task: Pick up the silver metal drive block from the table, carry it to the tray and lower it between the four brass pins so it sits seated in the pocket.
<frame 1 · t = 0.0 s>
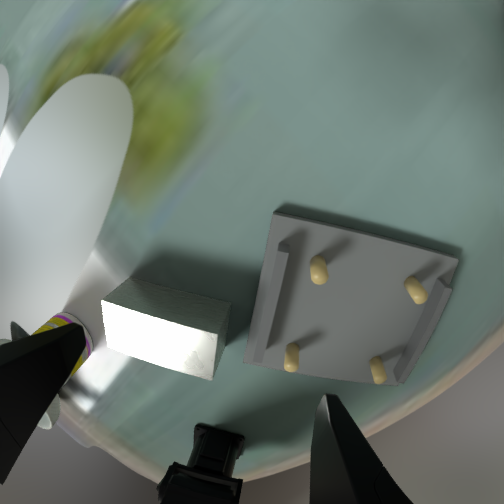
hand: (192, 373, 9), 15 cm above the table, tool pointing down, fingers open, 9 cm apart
tray: (349, 311, 23), on the table
supplement bottle: (75, 332, 30), on the table
cereal bowl: (36, 367, 36), on the table
drive: (177, 311, 26), on the table
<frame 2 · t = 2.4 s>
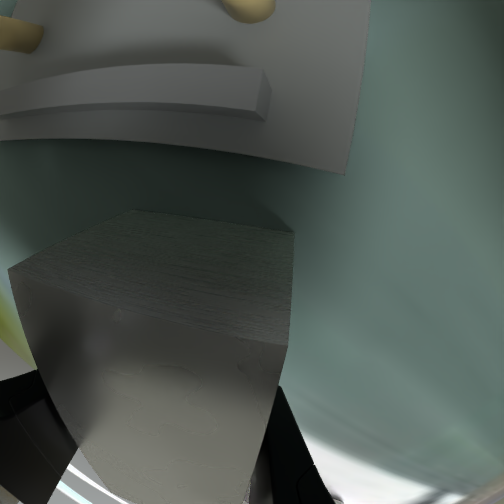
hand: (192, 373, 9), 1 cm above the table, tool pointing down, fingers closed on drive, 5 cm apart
drive: (200, 354, 10), on the table, touching gripper
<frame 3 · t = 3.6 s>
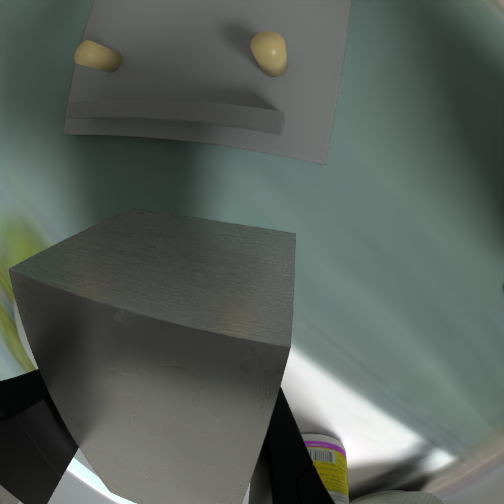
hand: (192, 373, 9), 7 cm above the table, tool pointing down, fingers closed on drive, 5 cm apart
supplement bottle: (306, 448, 20), on the table
cereal bowl: (375, 499, 23), on the table
drive: (200, 354, 10), point 6 cm above the table, touching gripper
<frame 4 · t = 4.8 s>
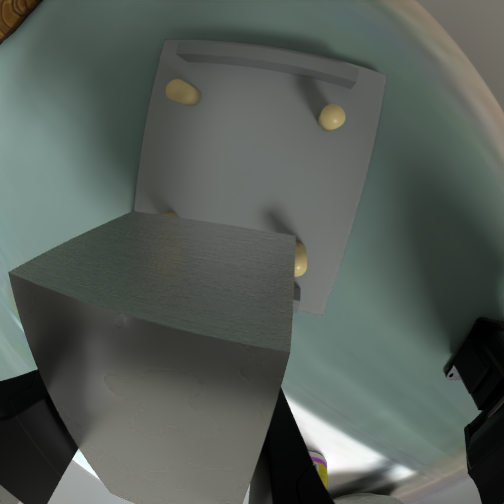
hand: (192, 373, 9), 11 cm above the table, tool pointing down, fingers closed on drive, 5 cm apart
croissant: (19, 19, 15), on the table
tray: (247, 170, 18), on the table
supplement bottle: (299, 459, 27), on the table
cereal bowl: (353, 499, 31), on the table
drive: (200, 356, 10), point 10 cm above the table, touching gripper
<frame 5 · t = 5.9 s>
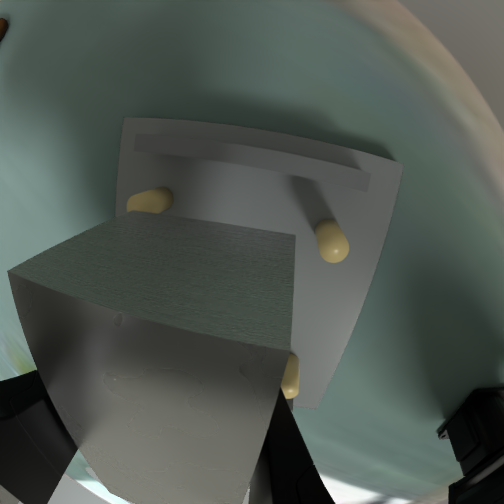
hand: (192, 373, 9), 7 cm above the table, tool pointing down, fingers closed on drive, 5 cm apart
tray: (233, 279, 16), on the table
drive: (200, 356, 10), point 6 cm above the table, touching gripper
when the fingers open (4 cm above the table, at t = 6.9 s): drive drops 2 cm, resting on tray.
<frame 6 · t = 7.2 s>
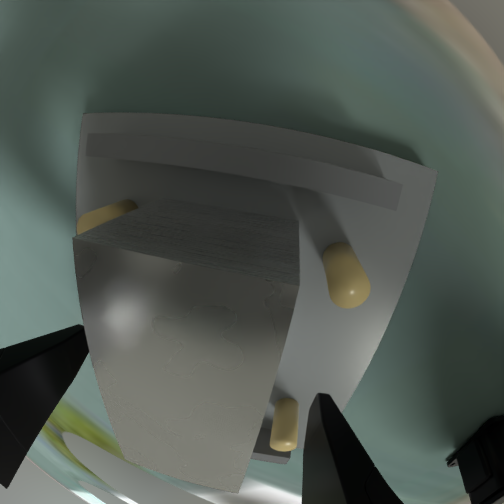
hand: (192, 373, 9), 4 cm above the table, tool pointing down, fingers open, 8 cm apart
tray: (219, 313, 13), on the table
drive: (214, 327, 12), point 1 cm above the table, touching tray
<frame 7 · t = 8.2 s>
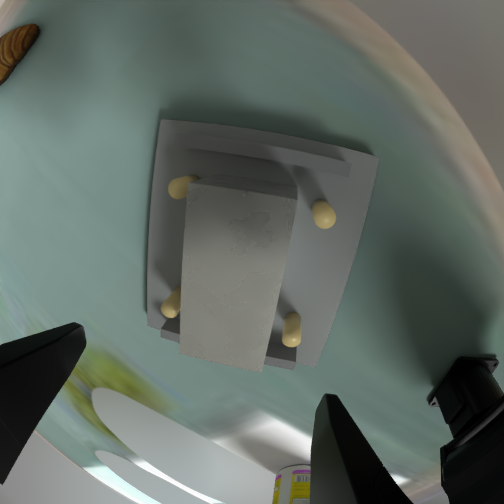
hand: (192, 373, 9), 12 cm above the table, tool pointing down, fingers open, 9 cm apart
croissant: (9, 66, 18), on the table
tray: (247, 250, 20), on the table
supplement bottle: (301, 472, 29), on the table
drive: (245, 256, 19), point 1 cm above the table, touching tray
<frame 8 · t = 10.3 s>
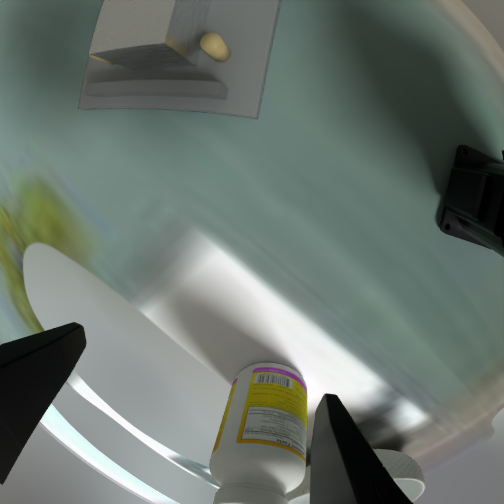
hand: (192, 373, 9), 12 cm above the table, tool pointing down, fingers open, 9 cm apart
tray: (181, 12, 15), on the table
supplement bottle: (271, 384, 24), on the table
cereal bowl: (352, 462, 28), on the table
drive: (176, 7, 14), point 1 cm above the table, touching tray
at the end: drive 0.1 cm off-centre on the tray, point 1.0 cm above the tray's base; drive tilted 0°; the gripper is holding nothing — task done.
